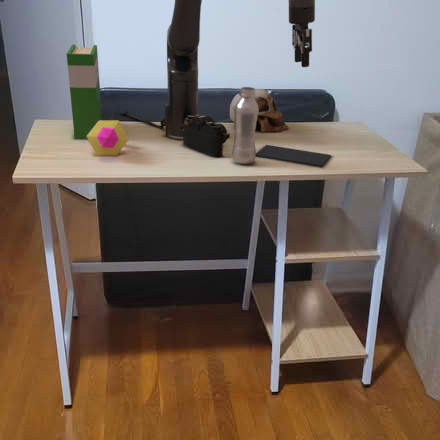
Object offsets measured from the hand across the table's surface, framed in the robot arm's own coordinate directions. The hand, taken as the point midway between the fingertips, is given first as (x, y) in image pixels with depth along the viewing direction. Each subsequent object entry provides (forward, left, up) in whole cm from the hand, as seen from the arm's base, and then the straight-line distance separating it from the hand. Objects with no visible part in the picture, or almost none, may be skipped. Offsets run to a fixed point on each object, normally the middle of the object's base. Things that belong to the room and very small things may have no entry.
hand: (301, 64), depth 169 cm
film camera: (-20, -25, -22) cm, 39 cm away
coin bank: (-14, +5, -22) cm, 27 cm away
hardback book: (-60, -27, -22) cm, 69 cm away
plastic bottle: (-6, -32, -22) cm, 39 cm away
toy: (-43, -43, -22) cm, 65 cm away
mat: (+5, -19, -22) cm, 30 cm away
